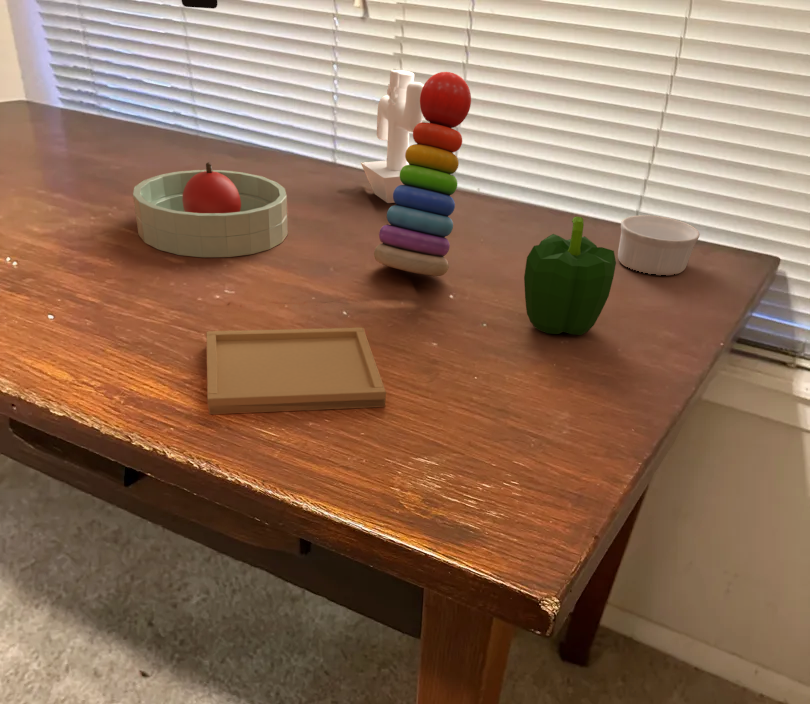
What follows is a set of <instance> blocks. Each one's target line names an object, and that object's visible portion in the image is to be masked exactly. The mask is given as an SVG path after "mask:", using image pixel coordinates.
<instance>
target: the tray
mask: <svg viewBox="0 0 810 704" xmlns="http://www.w3.org/2000/svg"><path fill="white" fill-rule="evenodd" d="M205 334H206V391H207V393H206V397H207V398H206V399H207V409H208V415H225V414H226V415H228V414H251V413H252V414H253V413H269V412H270V413H273V412H295V411H296V412H297V411H316V410H317V411H319V410H321V411H323V410H340V409H341V410H342V409H343V410H344V409H363V408H364V409H367V408H385V407H386V403H387V402H386V401H387V399H386V398H387V391H386V387H385V385H384V383H383V380H382V376H381V374H380V371H379V368H378V365H377V362H376V360H375V357H374V354H373V351H372V348H371V345H370V343H369V340H368V337H367V334H366V331H365V328H364V327H328V328H327V327H326V328H325V327H324V328H323V327H322V328H293V329H292V328H286V329H285V328H282V329H280V328H279V329H243V330H207V331H206V333H205Z"/></svg>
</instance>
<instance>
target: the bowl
mask: <svg viewBox="0 0 810 704" xmlns="http://www.w3.org/2000/svg"><path fill="white" fill-rule="evenodd" d="M204 171H206V169H193V170H191V169H190V170H180V171H173V172H166V173H163V174H158V175H155V176H152V177H149V178H146V179H144V180H142V181H140V182H138V184H136V185H135V186H134V187H133V191H132V199H133V206H134V213H135V220H136V226H137V227H136V229H137V232H138V233H137V234H138V236H139V237H140V239H141V240H142V242H143V243H144V244H146V245H148V246H151V247H152V248H154V249H156V250H158V251H162V252H165V253H170V254H174V255H178V256H185V257H194V258H232V257H233V258H234V257H241V256H249V255H254V254H259V253H262V252H266V251H268V250H271V249H273V248H275V247H276V246H279V245H280V244H282V243H283V242H284V241H285V239H286V238H287V237H288V235H289V231H288V230H289V227H288V225H289V224H288V223H289V222H288V195H287V191H286V188H285V187H284V186H283V185H281V184H280V183H279V182H277V181H275V180H272V179H271V178H268V177H264V176H262V175H258V174H253V173H248V172H244V171H234V170H224V169H212V171H214V172H218V173H220V174H223V175H224V176H226V177H227V178H229V179H230V180H231V181H232V182H233V184H234V185H235V186H236V188H237V190H238V192H239V195H240V200H241V209H240V212H232V213H193V212H185V211H184V208H183V201H182V197H183V191H184V188H185V186H186V184H187V182H188V181H189V180H190V179H191V178H192V177H193V176H194V175H196V174H198V173H200V172H204Z"/></svg>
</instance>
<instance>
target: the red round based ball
mask: <svg viewBox="0 0 810 704" xmlns="http://www.w3.org/2000/svg"><path fill="white" fill-rule="evenodd" d="M205 170H206V171H204V172H200V173H198V174H196V175H194V176H193V177H192V178H191V179H190V180H189V181H188V182H187V184H186V186H185V188H184V191H183V197H182V201H183V208H184V211H185V212H193V213H232V212H240V209H241V200H240V195H239V192H238V190H237V188H236V186H235V185H234V184H233V182H232V181H231V180H230V179H229V178H227V177H226V176H224V175H223V174H220V173H218V172H214V171H212V170H213V167H212V164H211V162H210V161H209V162H208V161H207V162H206V163H205Z"/></svg>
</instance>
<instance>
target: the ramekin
mask: <svg viewBox="0 0 810 704" xmlns="http://www.w3.org/2000/svg"><path fill="white" fill-rule="evenodd" d="M700 235H701V234H700V231H699V230H698V229H697V228H695V226H693V225H691V224H689V223H687V222H684V221H681V220H679V219H676V218H675V219H674V218H670V217H665V216H658V215H647V214H646V215H645V214H641V215H638V214H637V215H631V216H627V217H625V218H623V219H622V220H621V222H620V237H619V244H618V250H617V259H618V262H619V263H620V264H621V265H623V266H624V267H625V268H627V267H628V269H629V268H630V270H632V269H633V270H632V271H634V270H636V271H635V272H637V271H639V272H638V273H641V272H643V273H642V274H645V273H648V274H647V275H651V274H656V275H655V276H661V275H666V276H675V275H678V274H680V273H682V272H683V271H685V270H686V268H687V266H688V264H689V261H690V258H691V255H692V253H693V251H694V248H695V245H696V243H697V242H698V240H699V238H700ZM674 274H675V275H674Z"/></svg>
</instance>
